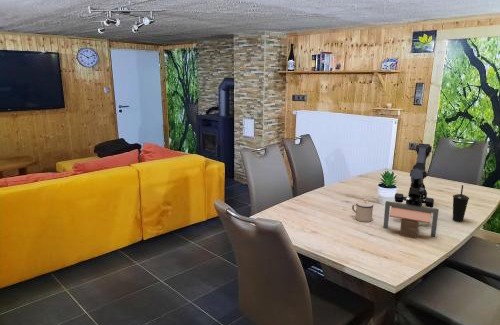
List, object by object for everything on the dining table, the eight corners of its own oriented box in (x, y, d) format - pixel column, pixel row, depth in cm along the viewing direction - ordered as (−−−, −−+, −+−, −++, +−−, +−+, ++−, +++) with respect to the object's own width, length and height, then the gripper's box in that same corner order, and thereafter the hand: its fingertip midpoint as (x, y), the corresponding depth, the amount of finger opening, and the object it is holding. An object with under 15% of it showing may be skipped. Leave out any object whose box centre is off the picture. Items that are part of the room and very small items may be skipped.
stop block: (403, 225, 185) (404, 211, 183) (418, 228, 182) (419, 213, 180) (399, 235, 173) (401, 220, 172) (415, 238, 170) (416, 223, 168)
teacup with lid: (375, 219, 194) (377, 199, 191) (367, 223, 188) (368, 203, 185) (355, 213, 202) (357, 194, 200) (347, 217, 196) (348, 197, 194)
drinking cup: (460, 224, 186) (465, 188, 182) (446, 219, 193) (451, 184, 188) (469, 221, 190) (474, 186, 185) (455, 216, 196) (460, 182, 192)
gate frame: (384, 226, 184) (386, 201, 181) (435, 235, 172) (438, 209, 169) (383, 227, 182) (385, 202, 179) (435, 237, 170) (438, 210, 167)
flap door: (389, 216, 176) (391, 207, 179) (429, 223, 167) (430, 214, 170) (389, 215, 175) (391, 206, 178) (429, 222, 166) (431, 212, 170)
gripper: (396, 178, 188) (391, 204, 181) (435, 183, 178) (432, 210, 172) (397, 189, 196) (392, 213, 189) (435, 194, 187) (431, 220, 180)
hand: (411, 214), depth 182 cm, fingers closed
